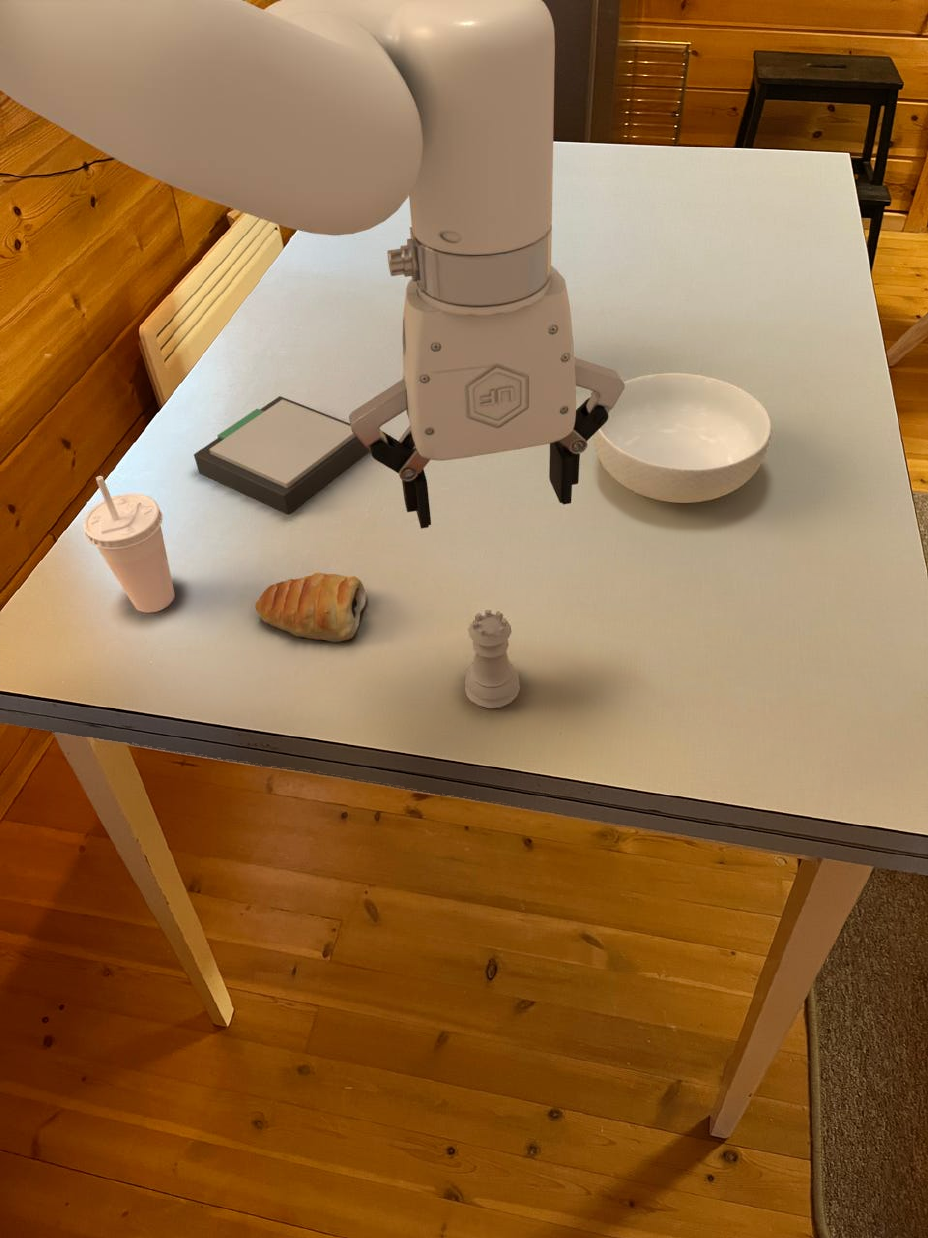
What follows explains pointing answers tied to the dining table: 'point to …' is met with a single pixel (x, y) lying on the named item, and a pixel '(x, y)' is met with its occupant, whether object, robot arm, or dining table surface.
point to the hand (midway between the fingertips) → (491, 503)
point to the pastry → (314, 606)
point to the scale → (281, 453)
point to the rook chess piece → (491, 663)
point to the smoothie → (132, 546)
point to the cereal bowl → (683, 437)
